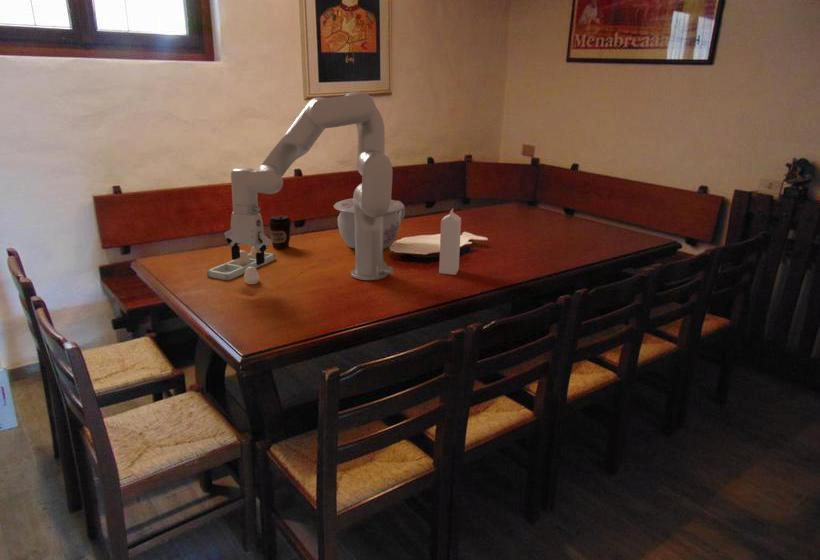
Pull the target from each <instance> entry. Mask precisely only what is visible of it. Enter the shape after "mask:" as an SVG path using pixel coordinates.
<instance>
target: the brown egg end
mask: <svg viewBox="0 0 820 560" xmlns="http://www.w3.org/2000/svg"><path fill="white" fill-rule="evenodd" d="M258 246H259V245H258ZM259 248H260V246H259ZM249 253H250V256H251V258H252V259H256V253H257V250H256V249H255V247H254V246H251V250H250V252H249Z"/></svg>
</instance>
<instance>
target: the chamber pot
mask: <svg viewBox="0 0 820 560" xmlns="http://www.w3.org/2000/svg"><path fill="white" fill-rule="evenodd" d="M333 207H334V210H337V211H338V212H339V215H338V216H337V227H338V231H339V234H340V236H341V238H342V240H343V241H344V243H345V244H346V245H347V246H348V247H349V248H352V249H354V250H355V216H354V206H353V197H352V198H347V199H344V200H340V201H337V202H335V203H334V205H333ZM405 215H406V206H405V204H404V203H403V202H402V201H401V200H395V199H391V203H390V207H389V210H388V211H387V213H386V214H385V215H383V250H385V249H387V248H389V247H390V245H391V244H392V245H393V244H394V241H395V240H396V239H397V237H398V235H399V232H400V227H401V222H402V221H403V219H404V217H405ZM392 245H391V246H392Z"/></svg>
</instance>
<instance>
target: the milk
mask: <svg viewBox="0 0 820 560" xmlns="http://www.w3.org/2000/svg"><path fill="white" fill-rule="evenodd" d="M461 228H462V217H460V215H458V214H456V213H455V212H454V208H452V209H451V210H450V211H449V214H447V215H445V216H444V217H442V219H441V220H440V238H439V243H440V244H439V264H438V265H439V268H438V273H439V274H443V275H451V276H452V275H454V276H456V275H457V274H458V271H459V269H460V253H461V251H460V249H461V231H462V229H461Z"/></svg>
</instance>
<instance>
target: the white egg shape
mask: <svg viewBox="0 0 820 560" xmlns="http://www.w3.org/2000/svg"><path fill="white" fill-rule="evenodd" d="M243 280H244V282H245V284H248V285H253V284H257V283H259V281H260V274H259V273H258V270H257V268H255V267H253V266H250V267H248V268H246V270H245V273H244V274H243Z"/></svg>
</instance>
